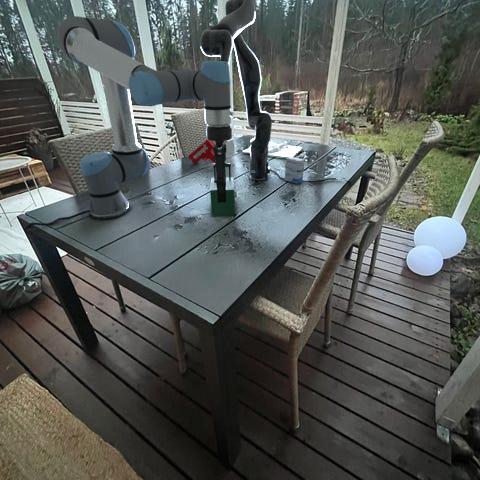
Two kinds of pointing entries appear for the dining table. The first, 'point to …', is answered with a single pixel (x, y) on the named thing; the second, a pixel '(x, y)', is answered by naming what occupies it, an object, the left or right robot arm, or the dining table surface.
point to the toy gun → (203, 152)
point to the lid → (228, 181)
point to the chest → (223, 205)
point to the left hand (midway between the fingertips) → (222, 193)
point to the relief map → (280, 150)
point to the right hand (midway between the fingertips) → (221, 145)
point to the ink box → (294, 170)
